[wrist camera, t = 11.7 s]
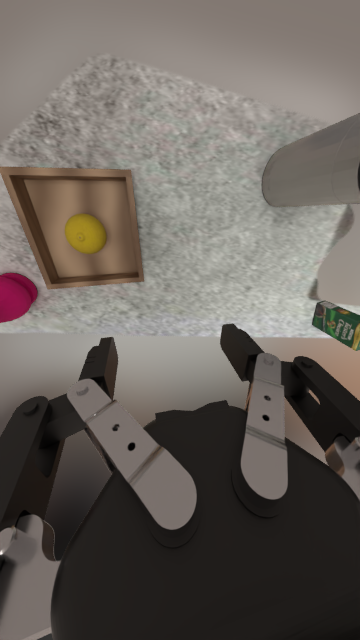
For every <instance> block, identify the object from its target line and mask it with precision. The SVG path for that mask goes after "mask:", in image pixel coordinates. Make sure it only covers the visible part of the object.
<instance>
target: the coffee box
mask: <svg viewBox="0 0 360 640" xmlns="http://www.w3.org/2000/svg"><path fill="white" fill-rule="evenodd" d="M312 325H313V326H315V327H317V328H318V329H320V330H321V331H323V332H325V333H327V334H328V335H330V336H332V337H333V338H335V339H337V340H338V341H340V342H342V343H343V344H345V345H347V346H348V347H350V348H352V349H353V350H355V351H357V350H360V315H357V314H355V313H353V312H350V311H348V310H346V309H343V308H341V307H339V306H336V305H334V304H332V303H330V302H327V301H322V302H319V303H317V307H316V311H315V316H314V319H313V324H312Z"/></svg>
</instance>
